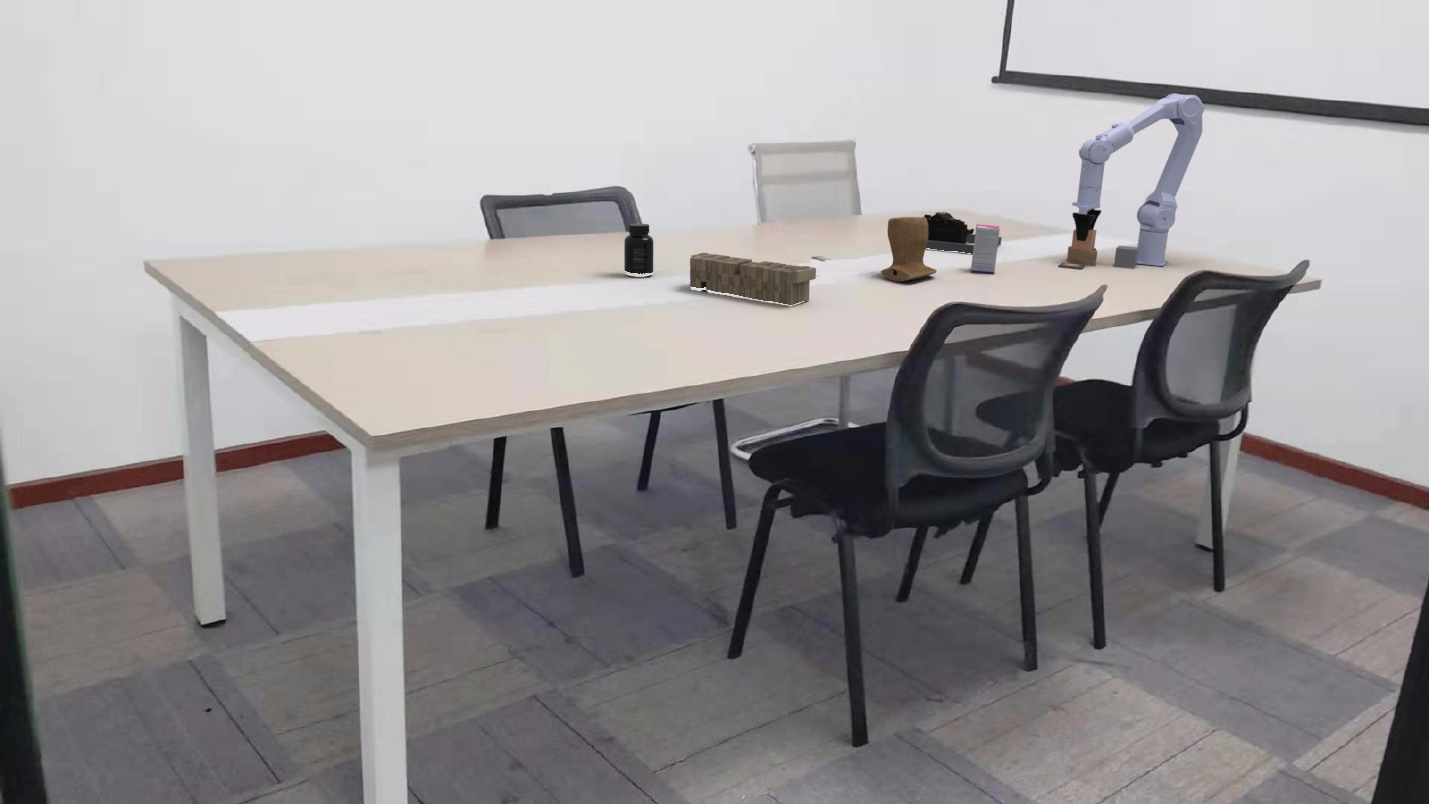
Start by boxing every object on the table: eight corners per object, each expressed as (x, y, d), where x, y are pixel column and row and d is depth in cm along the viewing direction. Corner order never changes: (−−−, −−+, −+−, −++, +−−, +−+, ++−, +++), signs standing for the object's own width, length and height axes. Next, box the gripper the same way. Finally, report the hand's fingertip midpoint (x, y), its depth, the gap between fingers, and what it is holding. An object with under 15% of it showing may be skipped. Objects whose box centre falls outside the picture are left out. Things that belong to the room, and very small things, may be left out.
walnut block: (1066, 260, 315) (1068, 246, 314) (1093, 262, 314) (1095, 248, 312) (1067, 265, 309) (1069, 250, 307) (1095, 267, 307) (1097, 252, 306)
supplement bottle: (658, 274, 277) (659, 224, 274) (644, 279, 271) (645, 227, 268) (632, 271, 280) (633, 221, 276) (618, 276, 274) (619, 224, 270)
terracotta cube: (1075, 246, 313) (1077, 228, 312) (1094, 248, 311) (1096, 230, 310) (1071, 249, 309) (1073, 230, 308) (1090, 251, 307) (1092, 232, 305)
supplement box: (995, 274, 291) (999, 228, 287) (970, 272, 292) (975, 227, 289) (994, 270, 296) (999, 225, 293) (970, 268, 297) (975, 223, 294)
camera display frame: (919, 237, 344) (920, 229, 344) (1000, 245, 334) (1001, 237, 334) (898, 246, 327) (898, 237, 327) (983, 255, 317) (984, 246, 316)
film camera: (982, 248, 330) (985, 212, 327) (968, 254, 320) (971, 217, 317) (922, 241, 338) (925, 206, 336) (906, 246, 328) (909, 211, 325)
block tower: (684, 294, 262) (796, 309, 246) (684, 256, 260) (797, 269, 244) (704, 288, 268) (815, 303, 252) (704, 252, 266) (816, 264, 250)
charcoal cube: (1116, 264, 311) (1119, 245, 310) (1136, 266, 309) (1138, 247, 308) (1113, 267, 307) (1116, 248, 306) (1133, 269, 305) (1136, 250, 303)
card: (1061, 264, 308) (1061, 261, 308) (1085, 266, 305) (1085, 264, 305) (1057, 267, 304) (1058, 264, 303) (1081, 269, 301) (1081, 267, 301)
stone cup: (899, 270, 292) (904, 210, 288) (942, 277, 285) (947, 215, 280) (867, 278, 281) (871, 215, 276) (910, 285, 274) (915, 221, 269)
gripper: (1079, 183, 313) (1073, 233, 317) (1069, 188, 301) (1063, 240, 305) (1106, 185, 310) (1100, 236, 314) (1097, 190, 298) (1091, 243, 302)
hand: (1083, 238), depth 309 cm, fingers open, 7 cm apart
